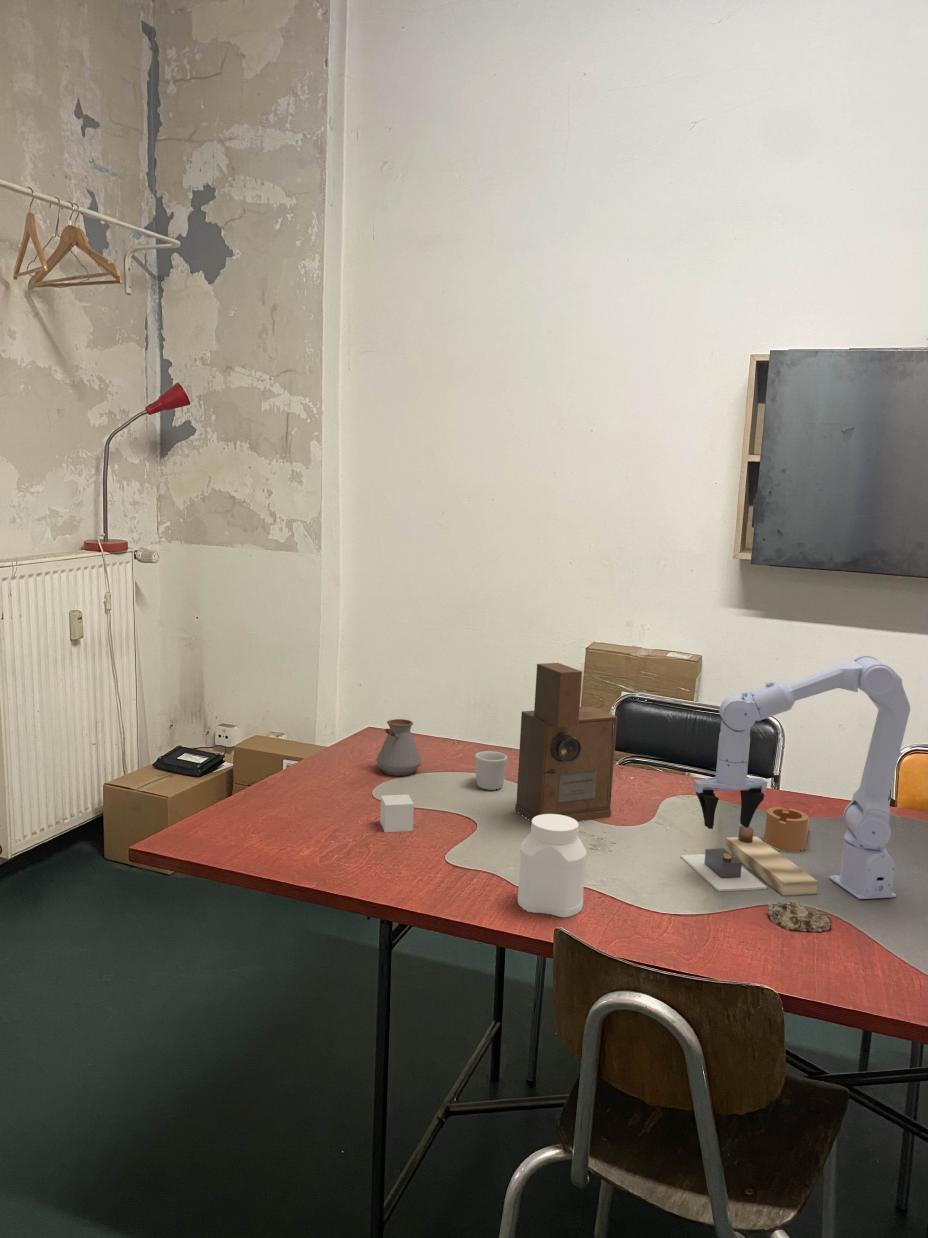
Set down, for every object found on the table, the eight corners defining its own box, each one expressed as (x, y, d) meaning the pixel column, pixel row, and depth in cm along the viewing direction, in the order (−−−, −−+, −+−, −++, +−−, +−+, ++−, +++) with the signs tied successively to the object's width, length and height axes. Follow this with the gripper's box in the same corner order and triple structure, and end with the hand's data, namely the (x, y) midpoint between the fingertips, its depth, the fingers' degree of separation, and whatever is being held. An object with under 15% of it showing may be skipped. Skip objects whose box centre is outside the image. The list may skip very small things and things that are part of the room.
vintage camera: (547, 833, 193) (557, 672, 188) (515, 811, 206) (523, 659, 201) (621, 823, 202) (632, 668, 197) (585, 802, 214) (595, 656, 209)
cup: (463, 780, 226) (464, 749, 225) (491, 777, 230) (493, 746, 228) (482, 794, 217) (483, 761, 215) (511, 790, 220) (513, 759, 219)
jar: (512, 910, 157) (517, 827, 155) (522, 887, 166) (527, 809, 164) (579, 920, 154) (585, 836, 152) (585, 896, 164) (591, 817, 162)
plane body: (816, 893, 169) (819, 868, 169) (782, 895, 168) (785, 870, 167) (755, 847, 191) (757, 825, 190) (724, 849, 189) (726, 826, 189)
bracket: (803, 855, 188) (807, 823, 187) (762, 847, 192) (765, 816, 191) (809, 828, 205) (812, 798, 204) (770, 821, 208) (773, 792, 207)
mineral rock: (766, 915, 155) (770, 886, 162) (763, 935, 157) (767, 905, 164) (833, 931, 151) (834, 900, 158) (829, 951, 153) (831, 920, 160)
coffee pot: (382, 762, 237) (384, 706, 235) (425, 766, 236) (427, 710, 234) (360, 788, 217) (362, 727, 214) (407, 793, 215) (409, 731, 213)
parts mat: (766, 889, 171) (767, 887, 170) (718, 891, 168) (718, 889, 168) (725, 855, 186) (725, 853, 186) (680, 857, 184) (680, 855, 184)
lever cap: (740, 877, 174) (742, 858, 174) (721, 878, 173) (723, 859, 173) (722, 862, 181) (724, 844, 180) (704, 863, 180) (705, 845, 180)
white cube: (412, 831, 191) (413, 804, 190) (384, 832, 190) (385, 805, 189) (407, 821, 197) (408, 794, 196) (379, 822, 195) (380, 795, 195)
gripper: (756, 752, 179) (749, 817, 181) (688, 753, 176) (683, 820, 178) (775, 762, 173) (768, 831, 175) (705, 764, 170) (699, 833, 171)
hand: (726, 826), depth 176 cm, fingers open, 7 cm apart
